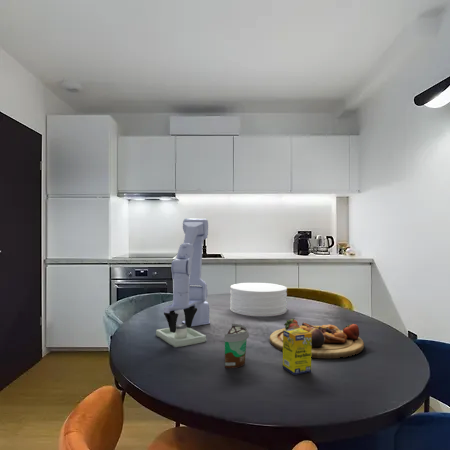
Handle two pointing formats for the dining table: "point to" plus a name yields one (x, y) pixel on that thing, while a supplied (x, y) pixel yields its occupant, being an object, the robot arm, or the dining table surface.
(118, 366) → the dining table surface
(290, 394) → the dining table surface
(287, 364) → the supplement box
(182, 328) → the shaker
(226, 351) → the food container
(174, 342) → the tray
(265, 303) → the plate stack
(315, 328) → the wooden plate with food
